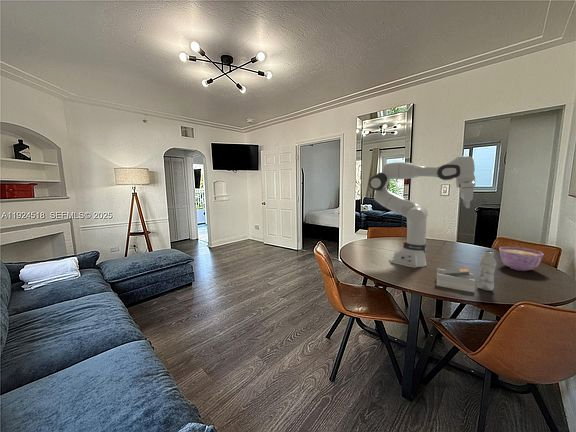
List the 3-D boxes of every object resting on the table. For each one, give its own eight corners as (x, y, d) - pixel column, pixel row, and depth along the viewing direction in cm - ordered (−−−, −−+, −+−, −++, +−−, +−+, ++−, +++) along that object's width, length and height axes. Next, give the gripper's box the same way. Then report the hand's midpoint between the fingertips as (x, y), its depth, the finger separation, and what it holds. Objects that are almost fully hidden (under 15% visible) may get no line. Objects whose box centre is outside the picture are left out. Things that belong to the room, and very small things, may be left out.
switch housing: (436, 285, 126) (437, 274, 125) (436, 277, 136) (437, 267, 135) (474, 292, 117) (475, 281, 116) (471, 283, 127) (472, 273, 126)
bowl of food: (551, 275, 137) (554, 256, 135) (510, 273, 141) (513, 254, 139) (524, 264, 156) (526, 247, 155) (489, 262, 160) (491, 246, 159)
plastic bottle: (485, 286, 124) (489, 249, 121) (497, 292, 117) (501, 253, 114) (473, 286, 124) (477, 249, 121) (484, 292, 117) (488, 253, 114)
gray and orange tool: (441, 276, 126) (441, 273, 126) (441, 272, 131) (441, 269, 132) (469, 275, 120) (468, 272, 120) (468, 271, 125) (467, 268, 125)
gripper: (457, 183, 149) (458, 205, 150) (460, 184, 131) (462, 209, 133) (469, 182, 145) (471, 205, 147) (475, 183, 128) (476, 208, 129)
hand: (466, 207), depth 140 cm, fingers open, 8 cm apart
